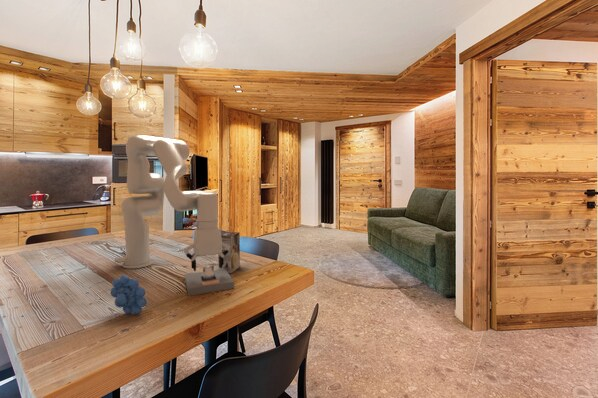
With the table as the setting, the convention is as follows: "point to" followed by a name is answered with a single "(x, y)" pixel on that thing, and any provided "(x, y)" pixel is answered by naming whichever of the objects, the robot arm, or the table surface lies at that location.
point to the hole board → (208, 282)
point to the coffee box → (231, 251)
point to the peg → (208, 272)
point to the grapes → (128, 294)
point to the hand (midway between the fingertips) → (207, 268)
